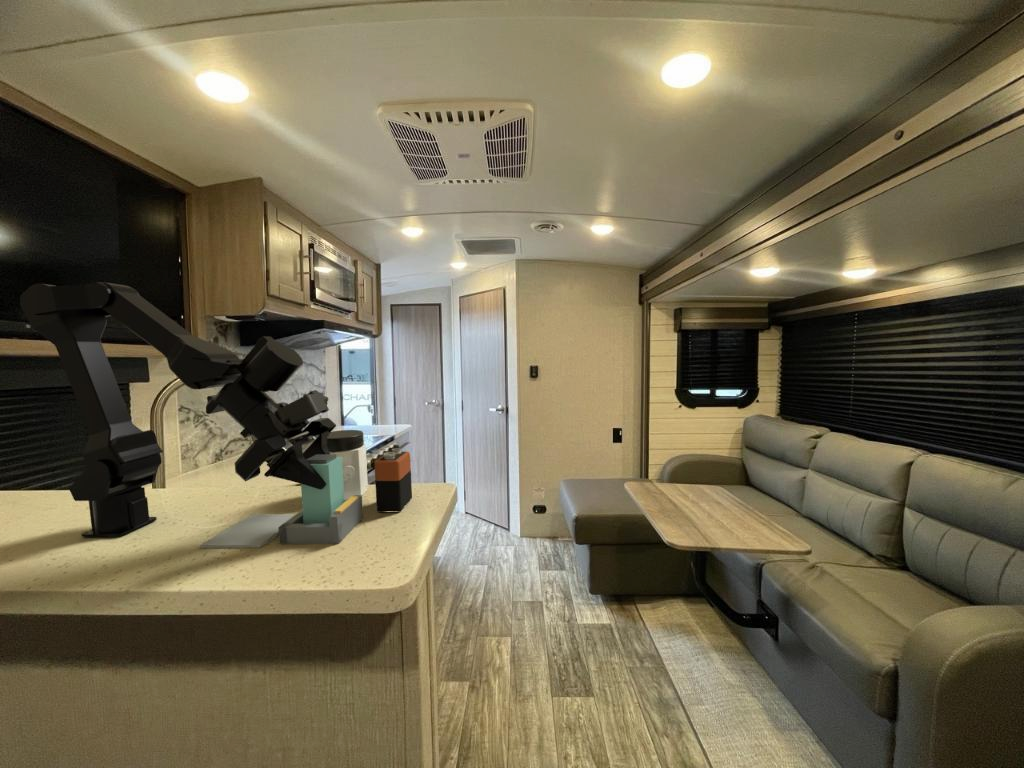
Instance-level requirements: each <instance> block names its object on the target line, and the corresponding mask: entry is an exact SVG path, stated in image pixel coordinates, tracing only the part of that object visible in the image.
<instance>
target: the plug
mask: <svg viewBox="0 0 1024 768" xmlns="http://www.w3.org/2000/svg"><path fill="white" fill-rule="evenodd" d="M307 461H308V463H309V464H310V465H311V466H312V467H313V468H314V469H315V470H316V472H317V473H318V474H319V475H320V476H321V477H322V479H323V480H324V481H325V483H326V486H325V487H324V488H323V489H321V490H320V489H317V488H313V487H310V486H307V485H303V484H300V489H301V505H302V510H303V524H324V523H329V517H330V516H331V515H332V514H333V513H334V511H335V510H336V509H337V508H338V507H340V506H341V505H342V504H343V503H344V502H345V501H344V487H343V468H342V457H336V454H317V455H315V456H313V457H311V458H309V459H307Z"/></svg>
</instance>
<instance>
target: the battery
mask: <svg viewBox="0 0 1024 768" xmlns="http://www.w3.org/2000/svg"><path fill="white" fill-rule="evenodd" d="M411 464H412V463H411V453H410V452H409V451H401V448H399V447H398V448H397V447H396V448H392V449H391V451H387V452H384V453H383V455H382V456H380V457H379V458H377V459H376V460H375V461H374V463H373V465H374V482H375V501H376V511H377V512H378V511H400V512H401V511H402V510H403V509H404V508H405V507H406V506H407V504H409V502H410V501H411V500H410V499H413V494H412V493H413V489H412V487H413V486H412V471H411V470H412V467H411ZM405 505H406V506H405ZM404 506H405V507H404Z"/></svg>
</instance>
